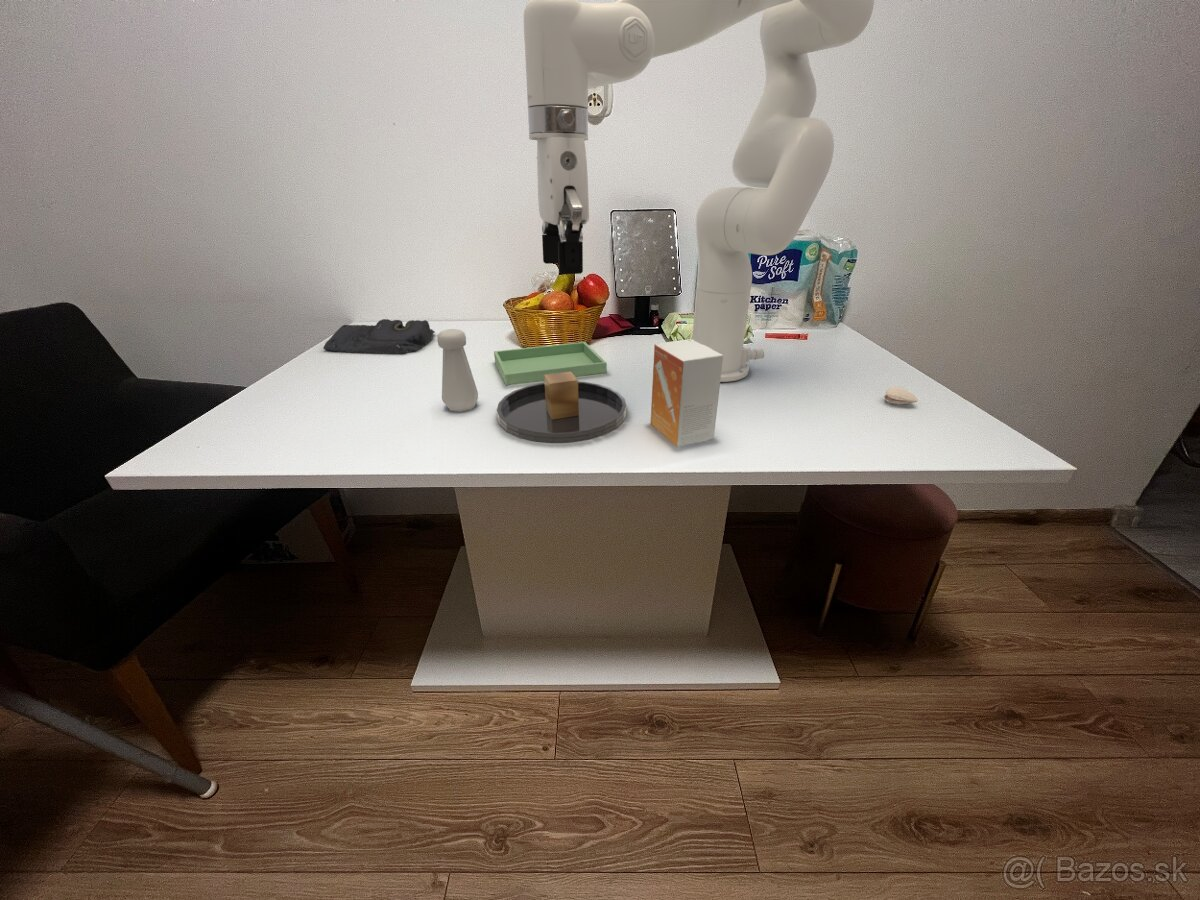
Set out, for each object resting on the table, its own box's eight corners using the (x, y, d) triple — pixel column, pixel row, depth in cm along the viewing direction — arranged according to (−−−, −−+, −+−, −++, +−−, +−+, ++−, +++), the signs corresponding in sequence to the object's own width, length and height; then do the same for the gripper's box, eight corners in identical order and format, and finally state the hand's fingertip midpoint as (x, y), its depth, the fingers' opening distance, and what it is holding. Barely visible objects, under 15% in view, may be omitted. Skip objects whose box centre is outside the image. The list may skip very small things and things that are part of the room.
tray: (585, 353, 109) (584, 341, 108) (606, 375, 97) (606, 362, 96) (495, 363, 104) (493, 351, 103) (506, 387, 92) (504, 374, 91)
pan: (602, 385, 93) (602, 375, 92) (645, 433, 76) (645, 421, 75) (490, 400, 87) (489, 389, 86) (510, 455, 70) (508, 442, 69)
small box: (649, 426, 78) (653, 343, 71) (685, 419, 80) (692, 337, 74) (676, 450, 71) (683, 360, 65) (714, 441, 73) (725, 354, 67)
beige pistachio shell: (888, 396, 87) (892, 382, 86) (920, 404, 84) (925, 390, 83) (878, 403, 85) (882, 389, 83) (911, 412, 82) (916, 397, 80)
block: (572, 406, 83) (571, 371, 81) (579, 415, 80) (578, 380, 77) (546, 409, 82) (543, 374, 79) (551, 419, 79) (549, 383, 76)
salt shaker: (470, 417, 81) (459, 337, 75) (437, 414, 82) (423, 335, 76) (485, 403, 86) (475, 326, 80) (453, 400, 87) (442, 325, 81)
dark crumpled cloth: (354, 332, 124) (349, 313, 122) (441, 334, 122) (438, 314, 120) (317, 352, 111) (311, 330, 109) (414, 354, 109) (409, 332, 107)
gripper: (608, 121, 58) (606, 277, 67) (569, 132, 73) (571, 258, 81) (544, 119, 56) (550, 279, 64) (517, 130, 71) (524, 260, 79)
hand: (562, 268), depth 73 cm, fingers open, 9 cm apart
